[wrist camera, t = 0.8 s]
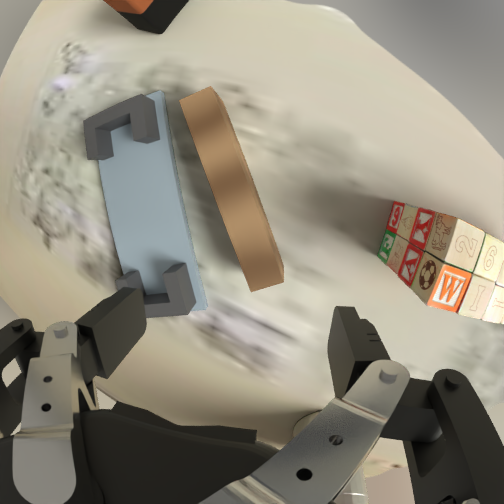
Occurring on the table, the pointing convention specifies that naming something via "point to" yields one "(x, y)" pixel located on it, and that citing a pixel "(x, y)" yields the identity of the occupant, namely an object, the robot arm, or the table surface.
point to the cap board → (146, 204)
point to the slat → (233, 189)
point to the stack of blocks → (446, 261)
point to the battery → (148, 12)
